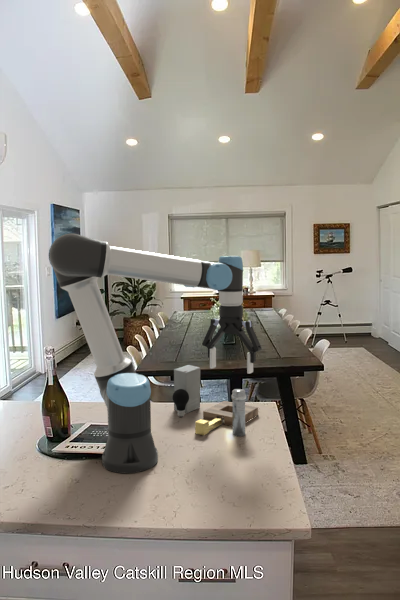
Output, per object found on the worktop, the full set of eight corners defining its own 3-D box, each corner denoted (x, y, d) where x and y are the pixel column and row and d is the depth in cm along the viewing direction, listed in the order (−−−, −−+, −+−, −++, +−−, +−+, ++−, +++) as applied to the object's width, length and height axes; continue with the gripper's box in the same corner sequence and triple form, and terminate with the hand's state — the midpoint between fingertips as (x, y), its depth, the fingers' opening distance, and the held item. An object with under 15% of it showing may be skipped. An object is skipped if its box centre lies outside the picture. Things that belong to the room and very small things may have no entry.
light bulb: (179, 413, 171) (179, 386, 171) (192, 416, 168) (192, 388, 167) (169, 417, 167) (168, 389, 166) (182, 421, 163) (182, 392, 162)
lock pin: (203, 435, 149) (203, 423, 149) (195, 433, 151) (195, 421, 151) (223, 424, 159) (223, 413, 159) (215, 422, 161) (215, 411, 161)
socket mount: (238, 427, 157) (238, 418, 156) (203, 419, 164) (203, 411, 164) (258, 415, 168) (258, 407, 168) (224, 408, 176) (224, 400, 176)
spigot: (241, 437, 148) (241, 393, 146) (228, 434, 150) (228, 391, 149) (248, 433, 151) (248, 390, 150) (236, 430, 154) (236, 388, 153)
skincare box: (187, 404, 181) (187, 364, 180) (202, 408, 177) (201, 366, 175) (172, 410, 175) (171, 368, 173) (187, 414, 170) (186, 371, 169)
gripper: (272, 305, 148) (271, 372, 150) (203, 301, 161) (204, 363, 163) (262, 307, 141) (261, 377, 143) (191, 303, 155) (192, 368, 156)
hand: (231, 370), depth 153 cm, fingers open, 13 cm apart
